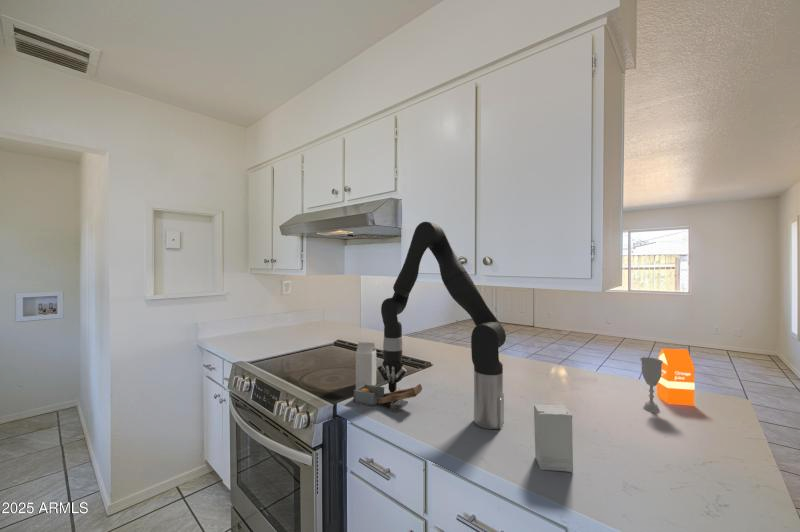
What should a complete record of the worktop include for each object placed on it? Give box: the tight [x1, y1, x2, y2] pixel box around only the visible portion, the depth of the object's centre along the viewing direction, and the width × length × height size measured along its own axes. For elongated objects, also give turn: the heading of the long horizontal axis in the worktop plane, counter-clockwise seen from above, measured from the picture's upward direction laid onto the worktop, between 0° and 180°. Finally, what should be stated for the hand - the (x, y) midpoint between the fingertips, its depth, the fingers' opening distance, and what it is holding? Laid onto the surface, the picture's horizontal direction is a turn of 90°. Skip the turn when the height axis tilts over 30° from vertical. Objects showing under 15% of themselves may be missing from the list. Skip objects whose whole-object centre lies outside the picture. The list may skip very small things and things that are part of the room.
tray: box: [352, 384, 385, 407], centre depth 128 cm, size 9×8×4 cm
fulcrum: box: [384, 399, 409, 413], centre depth 123 cm, size 5×9×3 cm, turn 154°
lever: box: [376, 383, 423, 405], centre depth 125 cm, size 17×12×2 cm
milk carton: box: [355, 341, 377, 389], centre depth 143 cm, size 7×7×19 cm
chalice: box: [639, 356, 663, 414], centre depth 120 cm, size 7×7×18 cm
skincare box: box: [533, 404, 574, 473], centre depth 87 cm, size 8×6×15 cm
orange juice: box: [656, 348, 695, 407], centre depth 129 cm, size 8×9×20 cm
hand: (392, 391), depth 131 cm, fingers closed
